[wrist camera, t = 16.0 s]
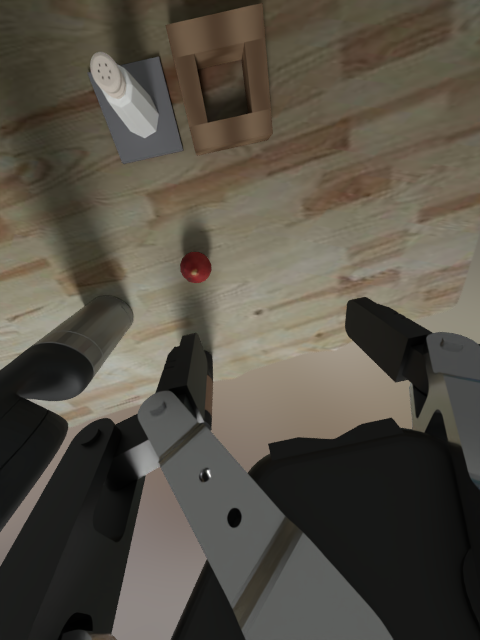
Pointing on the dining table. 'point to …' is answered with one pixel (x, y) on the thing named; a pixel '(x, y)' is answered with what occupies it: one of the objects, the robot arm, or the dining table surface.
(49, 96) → the dining table surface
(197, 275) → the onion
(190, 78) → the socket block
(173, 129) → the rubber pad
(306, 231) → the dining table surface
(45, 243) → the dining table surface
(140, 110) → the pepper shaker
